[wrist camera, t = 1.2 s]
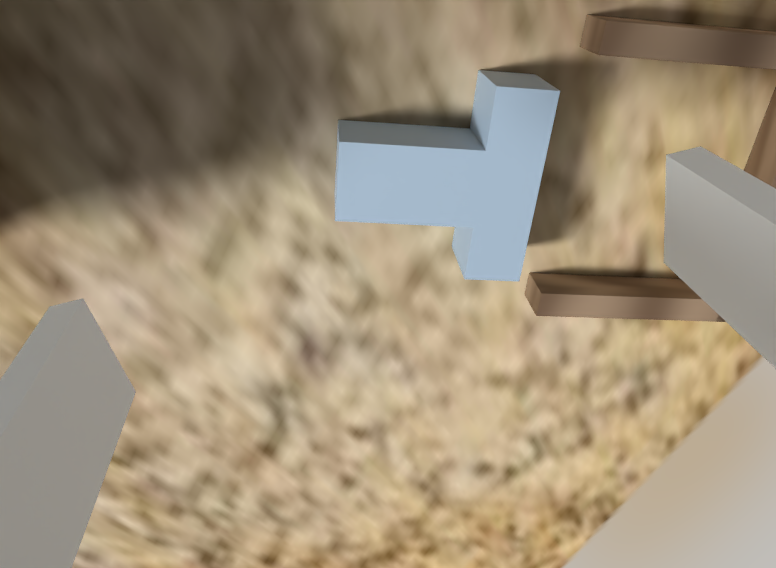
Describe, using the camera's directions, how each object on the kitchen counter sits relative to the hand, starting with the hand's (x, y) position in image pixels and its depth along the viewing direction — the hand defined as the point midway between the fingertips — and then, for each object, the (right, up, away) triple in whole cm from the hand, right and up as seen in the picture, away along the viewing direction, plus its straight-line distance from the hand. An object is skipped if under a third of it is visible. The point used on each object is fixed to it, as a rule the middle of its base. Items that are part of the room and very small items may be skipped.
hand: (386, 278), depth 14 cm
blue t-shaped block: (+2, +7, +20) cm, 21 cm away
